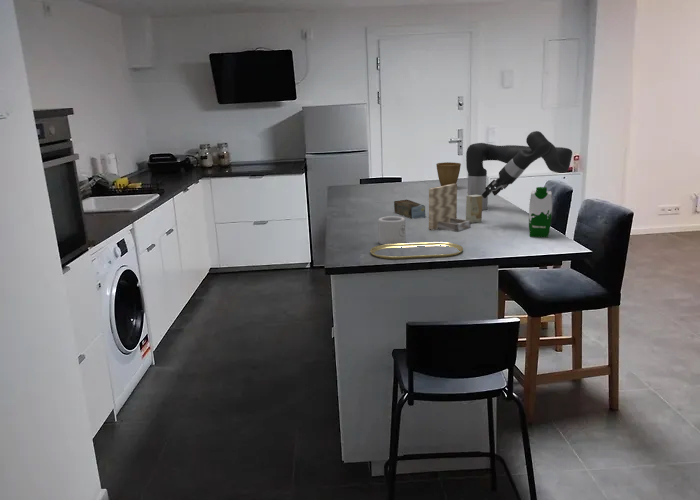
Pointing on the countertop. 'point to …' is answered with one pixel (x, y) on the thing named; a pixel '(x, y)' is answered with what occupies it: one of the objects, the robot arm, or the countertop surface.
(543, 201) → the milk carton
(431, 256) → the serving platter
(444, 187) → the board
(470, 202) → the skincare box
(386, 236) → the mug
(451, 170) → the plant pot
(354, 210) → the countertop surface
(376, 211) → the countertop surface
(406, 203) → the beverage carton
